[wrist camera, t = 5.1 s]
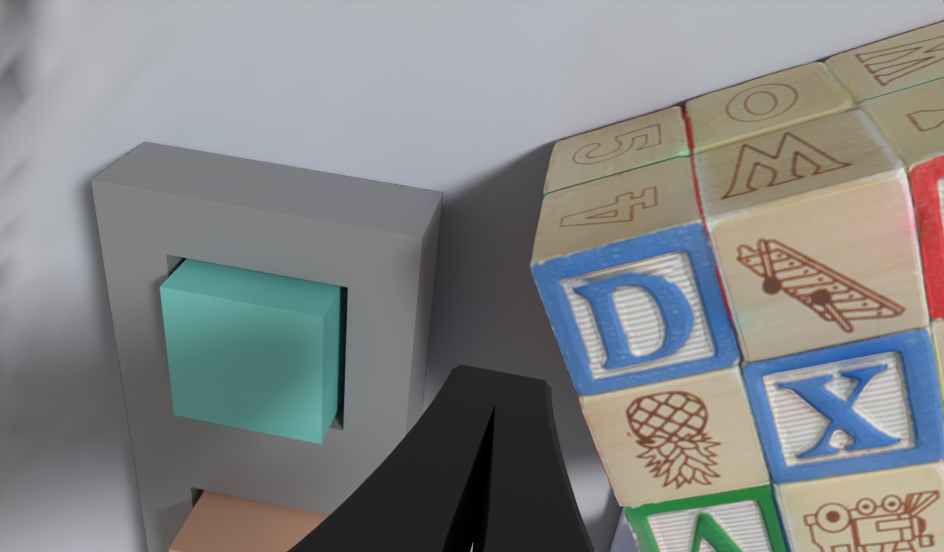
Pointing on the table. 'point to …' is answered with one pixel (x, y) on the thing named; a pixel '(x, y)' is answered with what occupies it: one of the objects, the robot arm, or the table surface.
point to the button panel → (277, 252)
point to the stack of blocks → (763, 306)
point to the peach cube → (242, 525)
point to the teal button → (255, 349)
